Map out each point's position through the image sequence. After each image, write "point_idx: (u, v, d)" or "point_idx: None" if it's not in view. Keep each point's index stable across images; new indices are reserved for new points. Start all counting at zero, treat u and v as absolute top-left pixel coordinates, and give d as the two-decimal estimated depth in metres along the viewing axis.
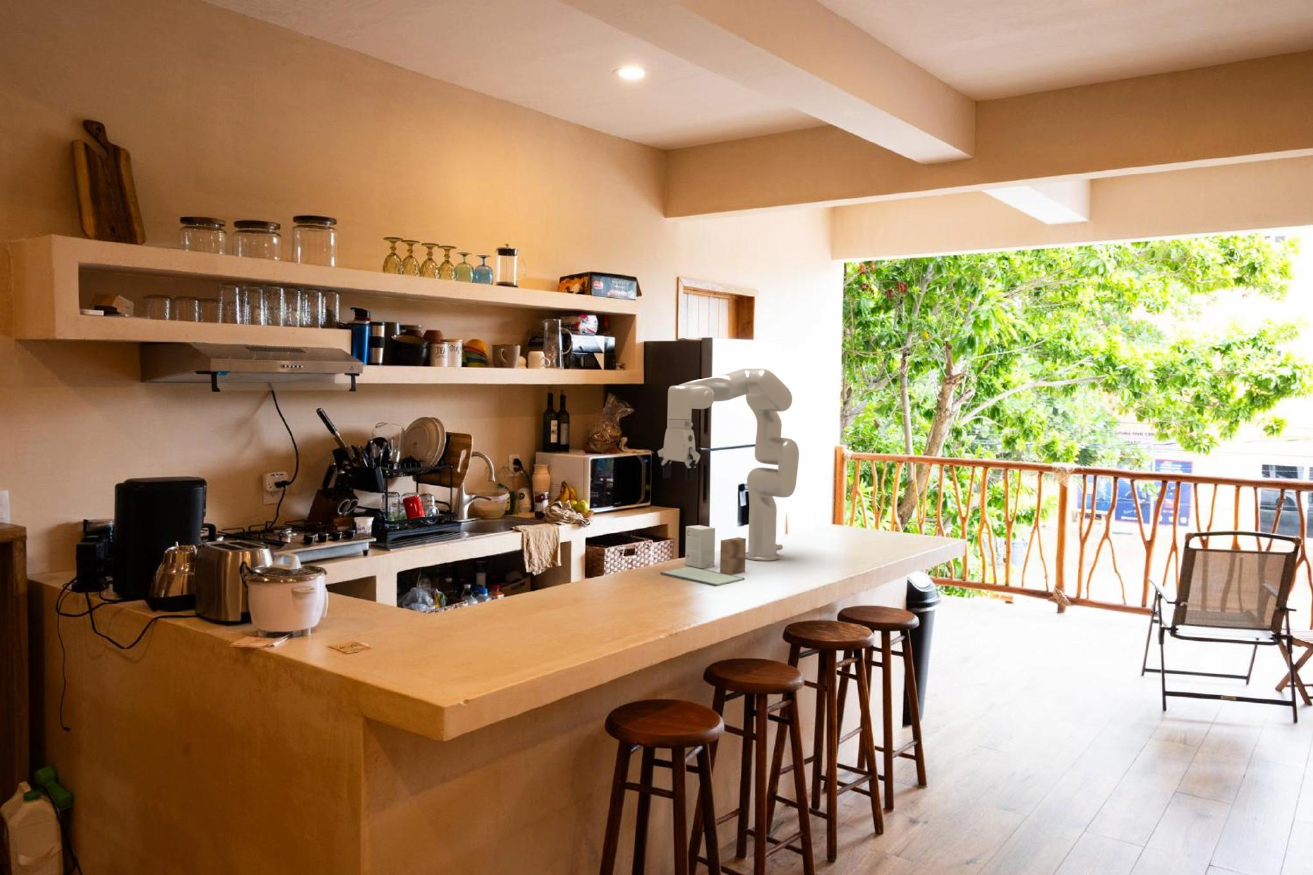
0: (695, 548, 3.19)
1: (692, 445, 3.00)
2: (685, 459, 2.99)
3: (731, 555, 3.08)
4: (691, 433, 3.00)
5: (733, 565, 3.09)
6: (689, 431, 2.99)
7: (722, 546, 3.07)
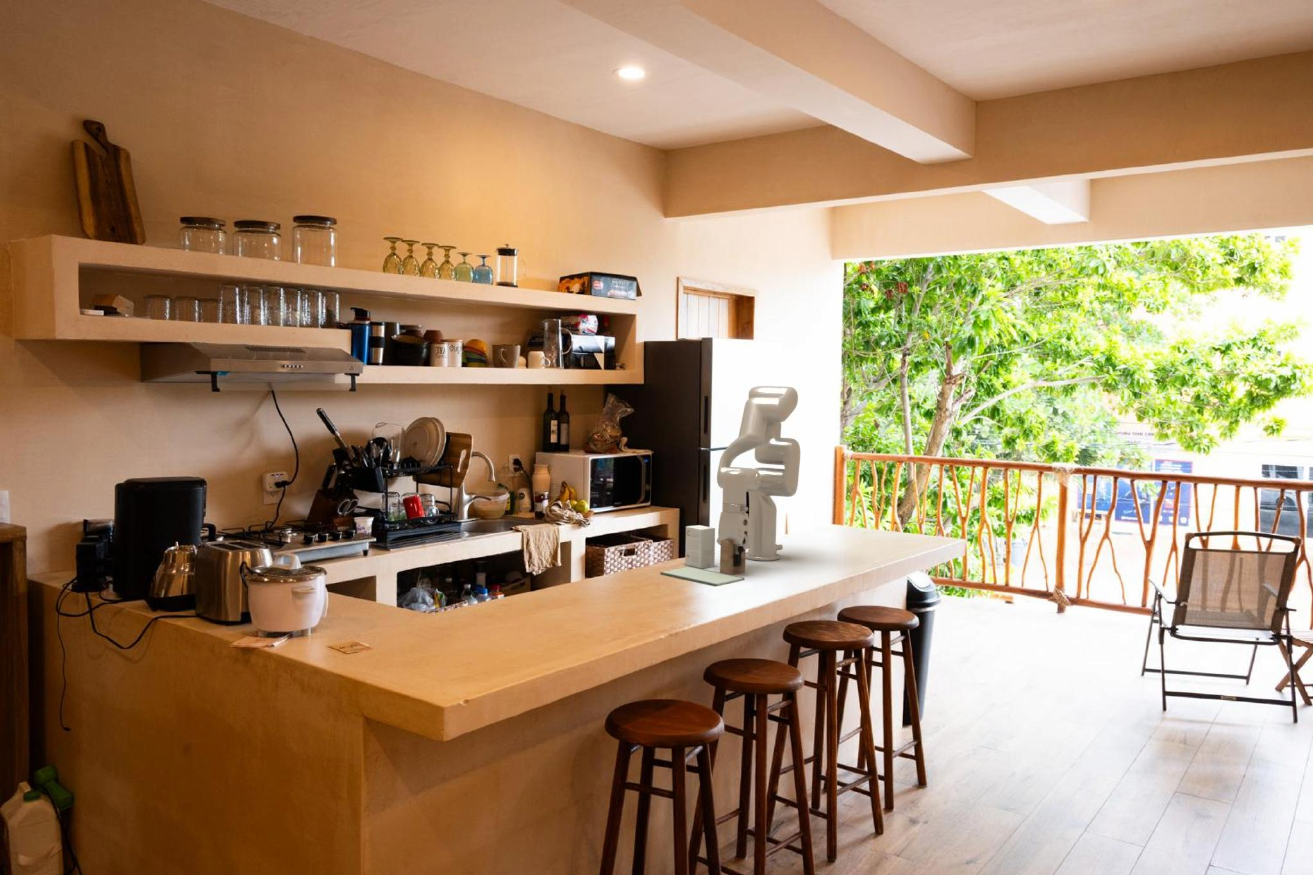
0: (695, 548, 3.19)
1: (747, 529, 3.07)
2: (740, 543, 3.06)
3: (731, 555, 3.08)
4: (746, 517, 3.07)
5: None
6: (744, 515, 3.06)
7: (722, 546, 3.07)
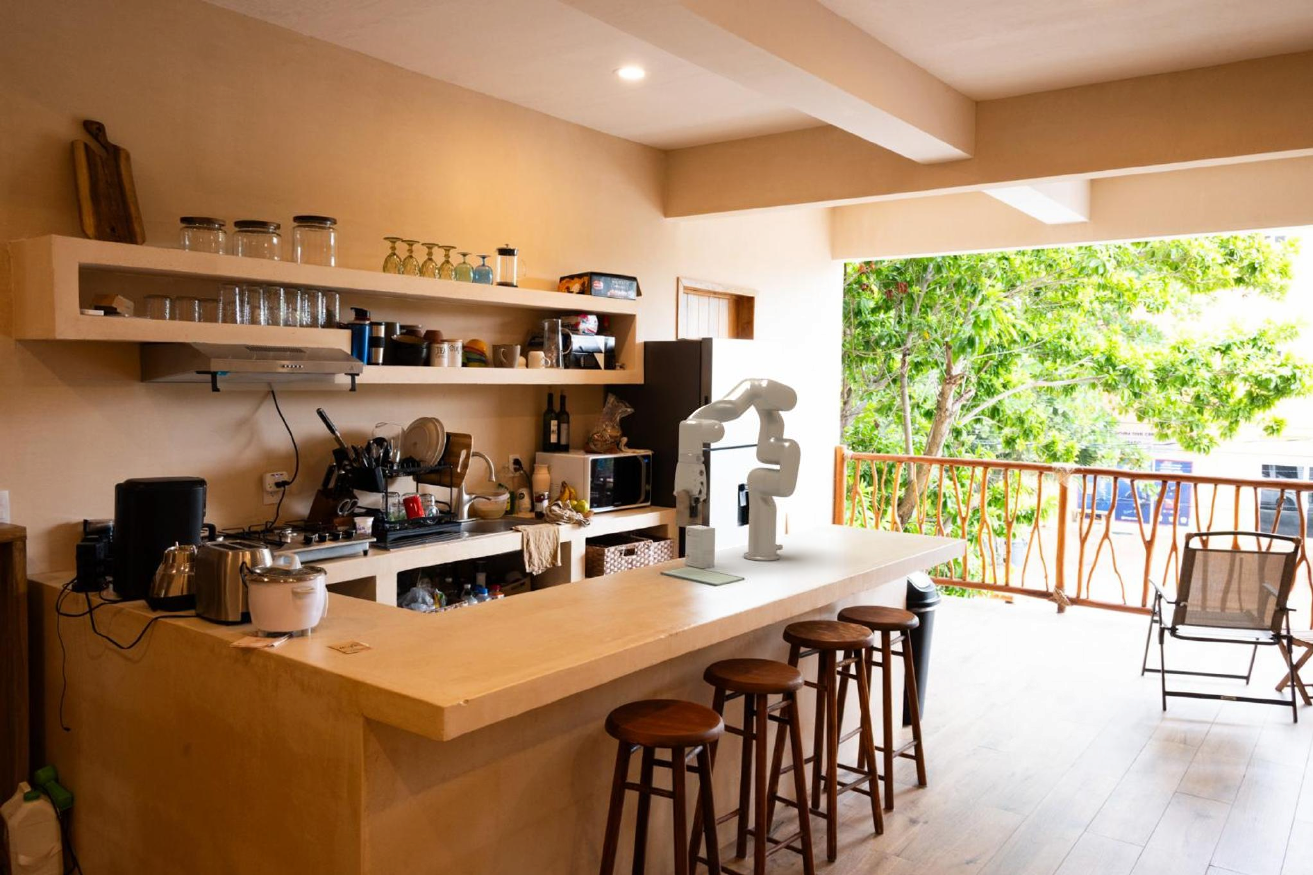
0: (695, 548, 3.19)
1: (703, 479, 3.03)
2: (696, 493, 3.02)
3: (687, 506, 3.04)
4: (702, 467, 3.03)
5: (689, 516, 3.05)
6: (700, 466, 3.03)
7: (678, 497, 3.04)
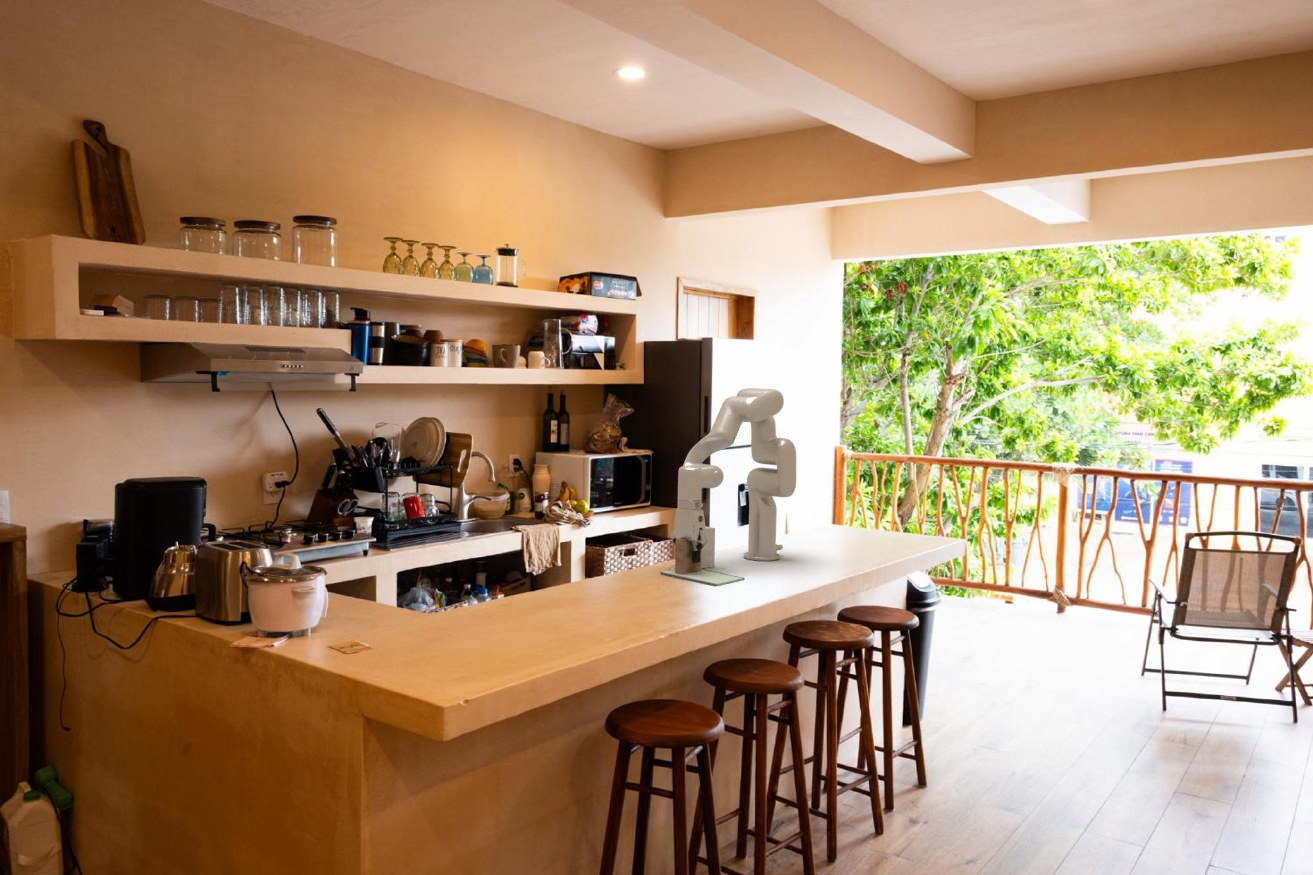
0: None
1: (702, 525, 3.04)
2: (695, 539, 3.03)
3: (687, 554, 3.05)
4: (701, 513, 3.04)
5: (689, 564, 3.06)
6: (699, 512, 3.04)
7: (677, 545, 3.05)
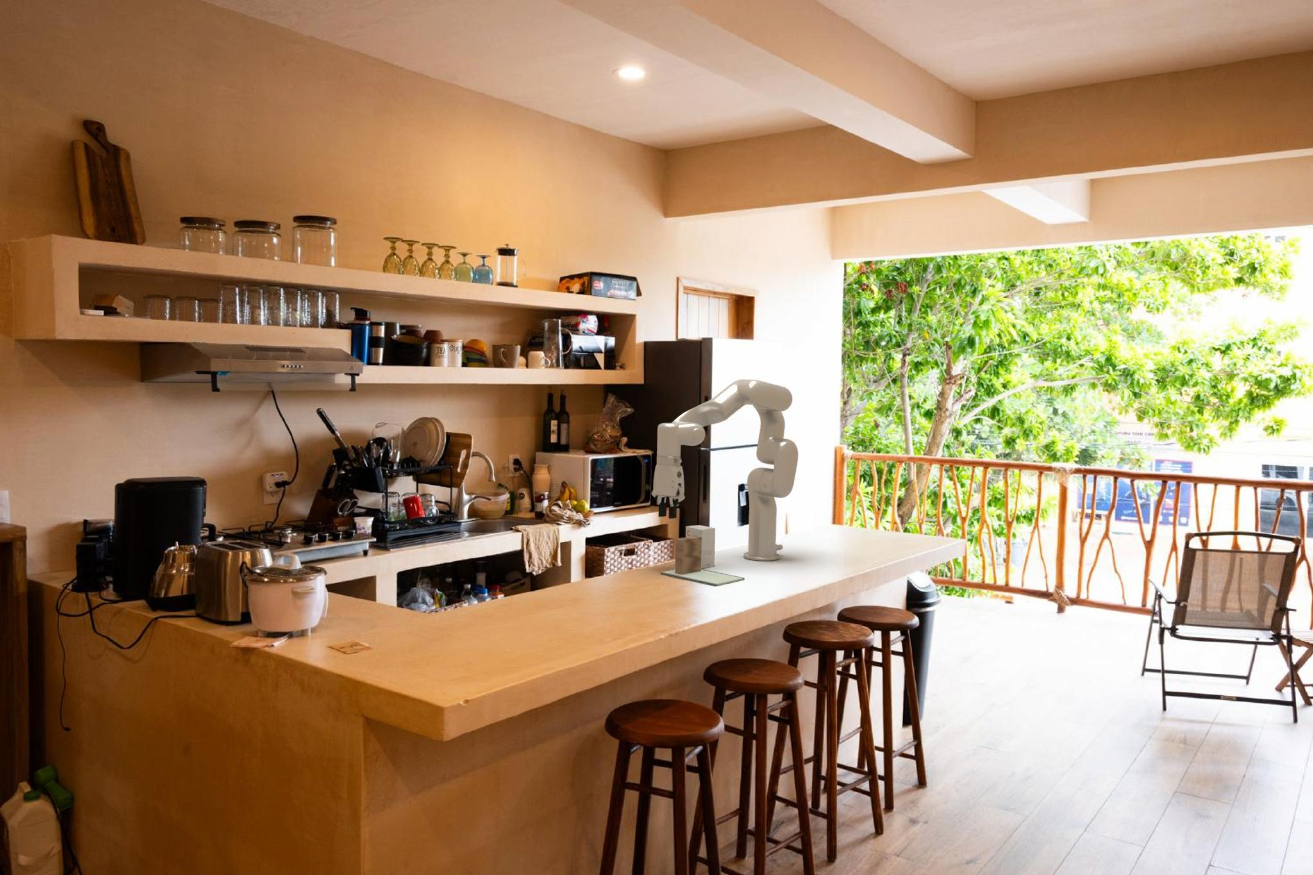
0: None
1: (681, 481, 3.10)
2: (674, 495, 3.09)
3: (687, 554, 3.05)
4: (680, 469, 3.10)
5: (689, 564, 3.06)
6: (678, 467, 3.09)
7: (677, 545, 3.05)
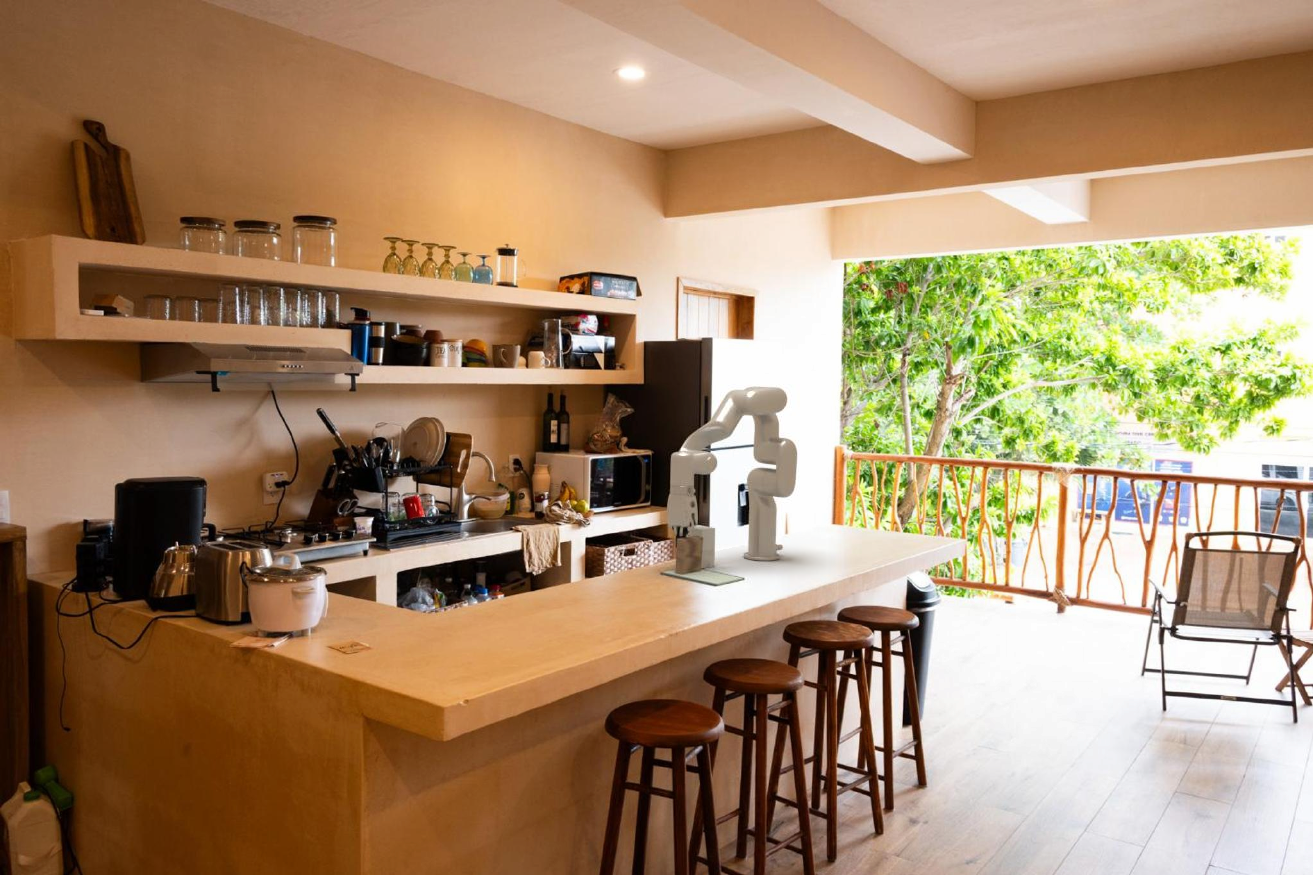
0: None
1: (694, 511, 3.06)
2: (688, 525, 3.05)
3: (687, 554, 3.05)
4: (693, 499, 3.06)
5: (689, 564, 3.06)
6: (691, 497, 3.06)
7: (678, 544, 3.04)
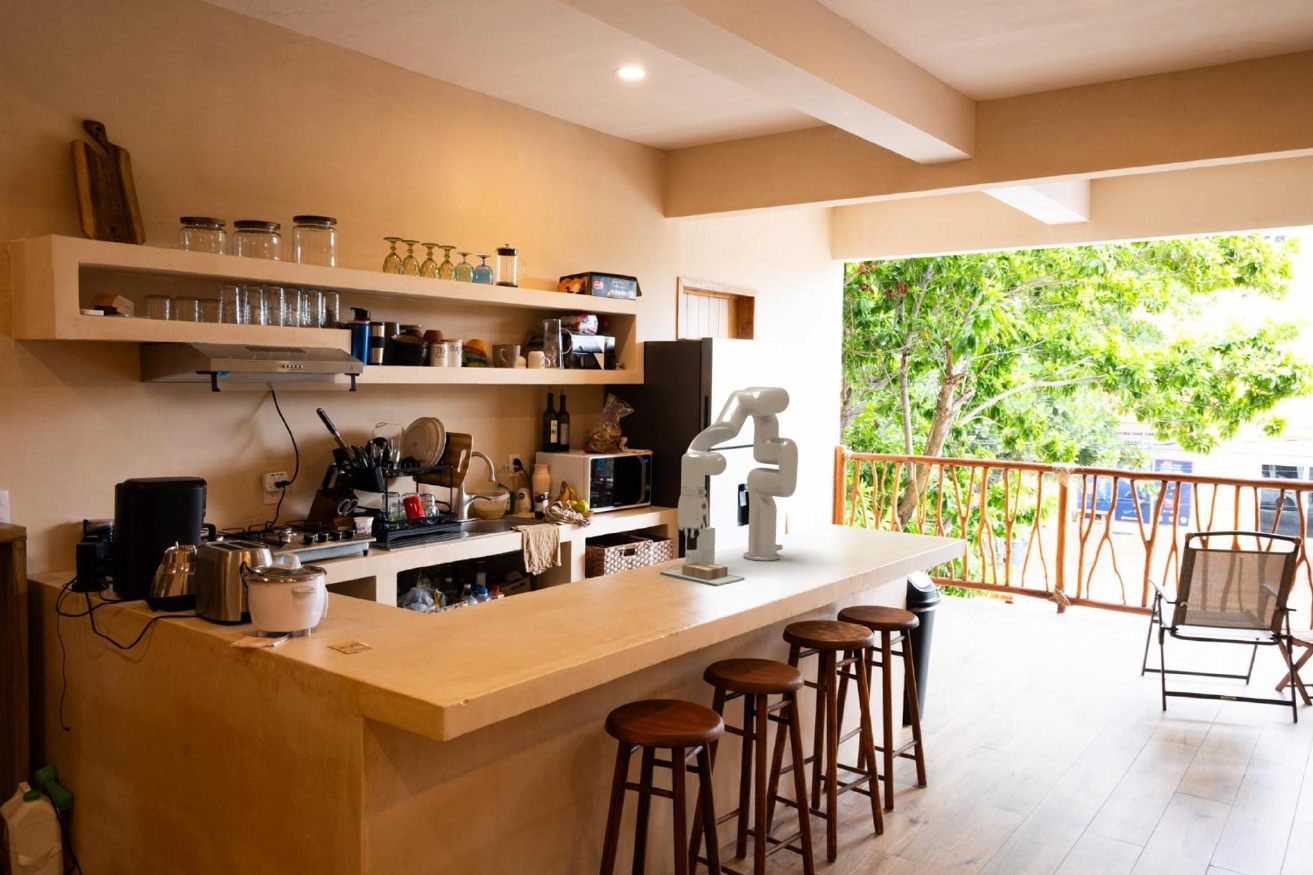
0: None
1: (706, 513, 3.03)
2: (699, 527, 3.02)
3: None
4: (705, 501, 3.03)
5: None
6: (703, 499, 3.02)
7: (704, 572, 2.97)
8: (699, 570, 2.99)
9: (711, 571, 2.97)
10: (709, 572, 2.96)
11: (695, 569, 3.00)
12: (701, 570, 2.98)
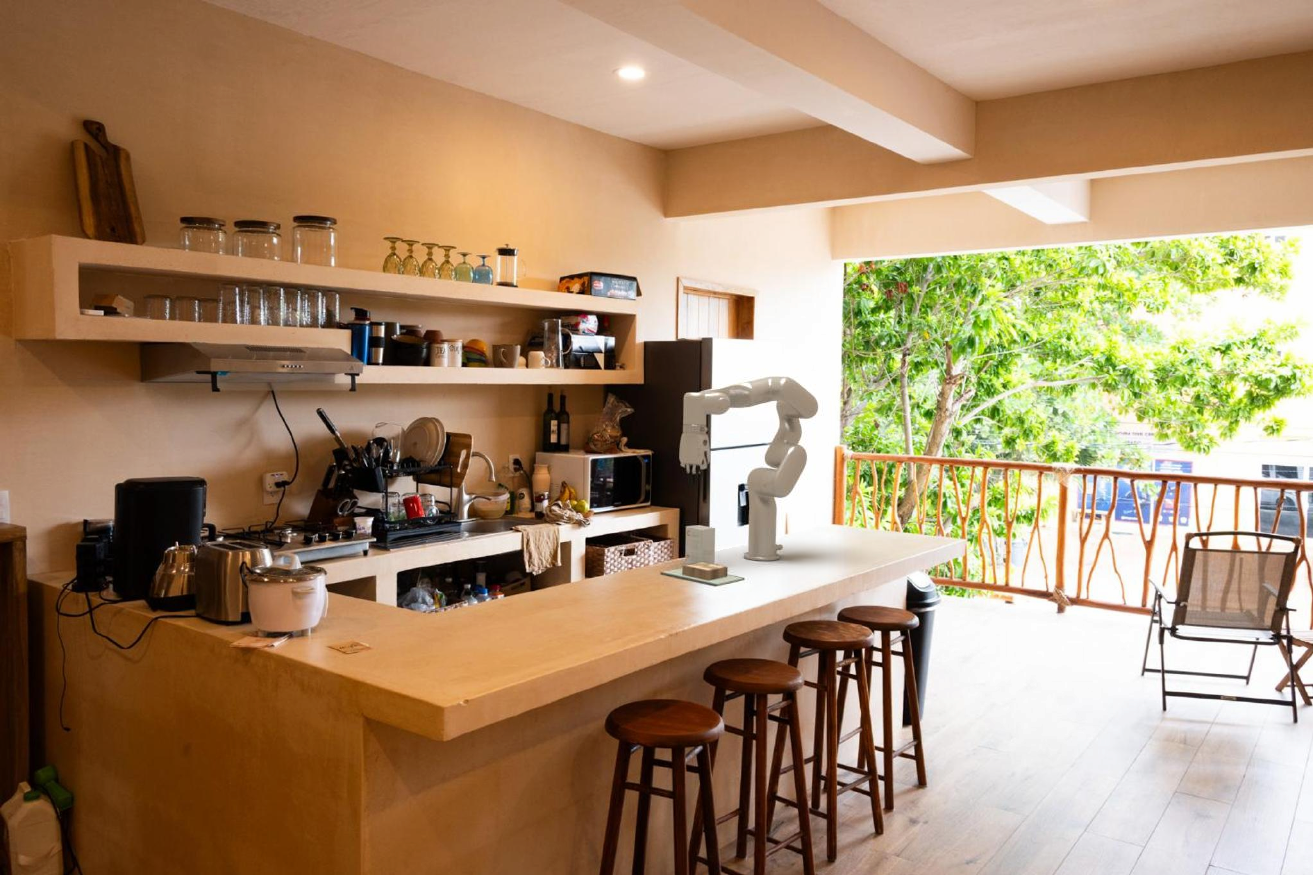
0: (695, 548, 3.19)
1: (707, 449, 3.15)
2: (700, 462, 3.14)
3: None
4: (706, 438, 3.15)
5: None
6: (704, 436, 3.14)
7: (704, 572, 2.97)
8: (699, 570, 2.99)
9: (711, 571, 2.97)
10: (709, 572, 2.96)
11: (695, 569, 3.00)
12: (701, 570, 2.98)
